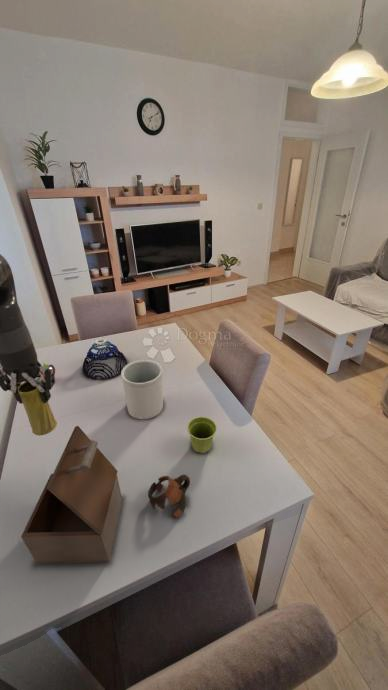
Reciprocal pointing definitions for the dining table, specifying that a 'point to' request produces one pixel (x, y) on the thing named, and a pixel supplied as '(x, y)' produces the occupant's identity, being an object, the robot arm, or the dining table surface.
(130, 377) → the utensil holder
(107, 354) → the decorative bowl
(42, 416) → the vase
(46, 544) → the chest
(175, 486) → the brown plush toy
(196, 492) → the dining table surface
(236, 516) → the dining table surface
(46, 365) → the strawberry
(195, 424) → the plant pot
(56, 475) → the lid
